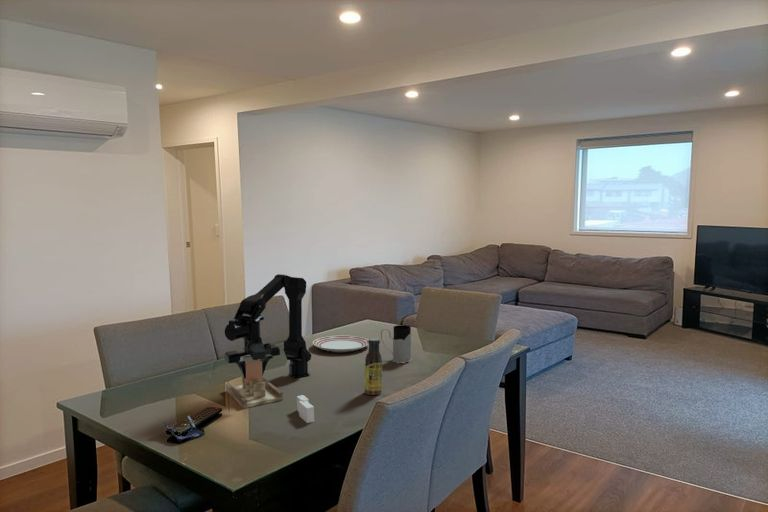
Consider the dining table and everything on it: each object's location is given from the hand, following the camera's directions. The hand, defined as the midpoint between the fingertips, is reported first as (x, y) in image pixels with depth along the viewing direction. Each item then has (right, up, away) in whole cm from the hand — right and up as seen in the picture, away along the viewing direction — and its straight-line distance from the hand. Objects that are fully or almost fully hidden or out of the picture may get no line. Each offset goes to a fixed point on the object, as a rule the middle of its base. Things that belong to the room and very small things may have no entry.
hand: (253, 376), depth 189 cm
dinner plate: (+26, -1, +64) cm, 69 cm away
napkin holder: (+22, -9, -17) cm, 29 cm away
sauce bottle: (+43, -7, +2) cm, 44 cm away
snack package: (-13, -11, -31) cm, 36 cm away
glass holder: (+52, -3, +43) cm, 68 cm away
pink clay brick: (0, -2, 0) cm, 2 cm away
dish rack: (0, -7, +1) cm, 7 cm away
